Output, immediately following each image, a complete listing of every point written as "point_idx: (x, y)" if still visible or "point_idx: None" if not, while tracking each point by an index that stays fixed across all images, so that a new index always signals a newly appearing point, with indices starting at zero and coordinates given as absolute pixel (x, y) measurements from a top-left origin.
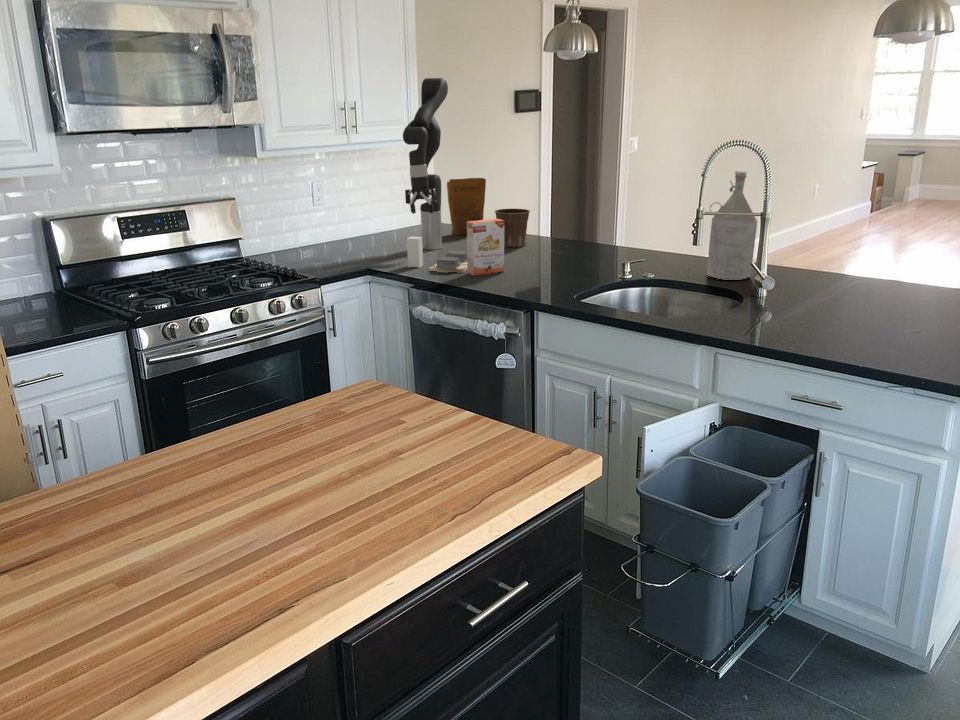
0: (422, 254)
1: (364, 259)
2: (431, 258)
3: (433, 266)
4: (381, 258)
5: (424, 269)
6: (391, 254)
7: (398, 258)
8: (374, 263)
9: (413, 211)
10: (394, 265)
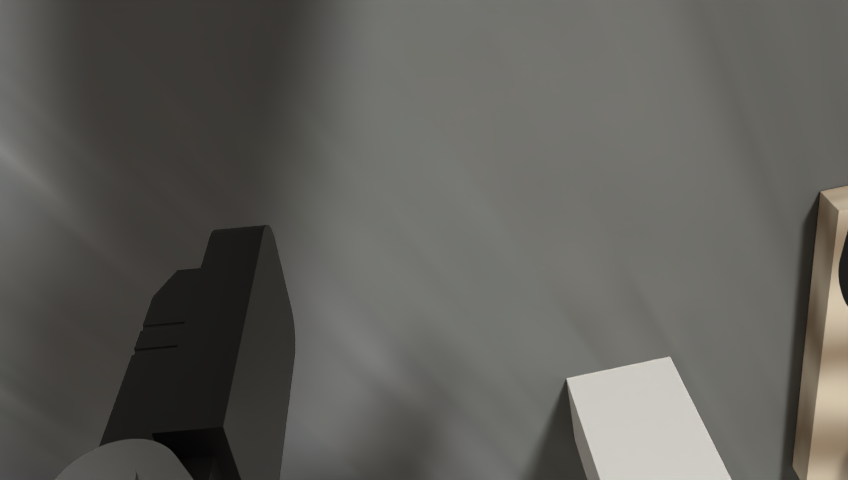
0: (707, 437)
1: (8, 389)
2: (627, 93)
3: (822, 451)
4: (119, 300)
5: (729, 437)
6: (44, 103)
7: (281, 234)
8: None
9: (287, 367)
10: (431, 437)
